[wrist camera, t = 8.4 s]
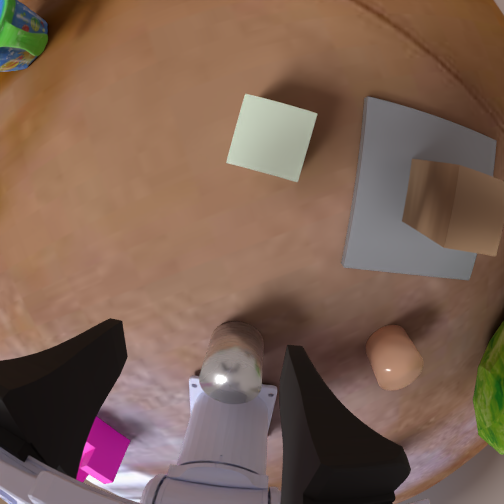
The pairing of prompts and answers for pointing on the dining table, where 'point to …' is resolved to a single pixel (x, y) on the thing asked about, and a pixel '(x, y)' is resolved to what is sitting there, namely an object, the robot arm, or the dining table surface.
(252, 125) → the pale green block
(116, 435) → the toy block
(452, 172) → the walnut block
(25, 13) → the snack cup
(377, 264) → the slate coaster
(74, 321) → the dining table surface
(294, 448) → the robot arm
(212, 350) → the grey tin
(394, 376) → the peach rounded cylinder
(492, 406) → the lettuce
